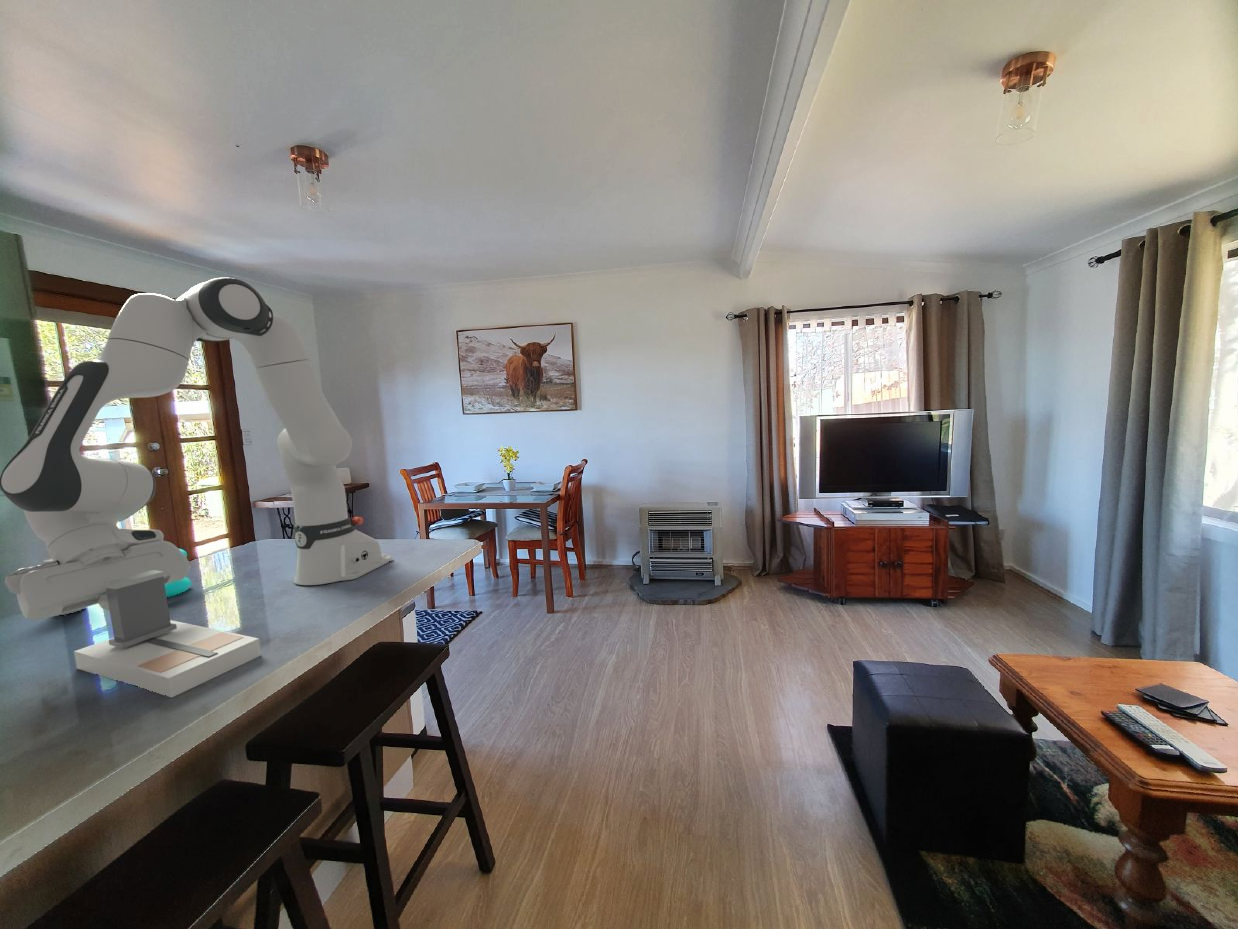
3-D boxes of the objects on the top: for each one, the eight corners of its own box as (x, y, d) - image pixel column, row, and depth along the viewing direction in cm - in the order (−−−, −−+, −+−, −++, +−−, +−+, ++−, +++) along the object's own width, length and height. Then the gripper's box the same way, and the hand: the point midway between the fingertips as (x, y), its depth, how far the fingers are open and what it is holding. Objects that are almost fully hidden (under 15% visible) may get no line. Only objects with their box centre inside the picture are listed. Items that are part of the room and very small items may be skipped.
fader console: (77, 668, 75) (73, 650, 75) (169, 634, 86) (166, 618, 86) (171, 697, 66) (168, 676, 66) (261, 655, 77) (258, 637, 77)
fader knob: (109, 644, 75) (98, 583, 74) (163, 625, 82) (154, 569, 81) (123, 648, 74) (112, 585, 73) (176, 628, 81) (168, 571, 79)
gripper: (2, 561, 70) (45, 630, 68) (171, 527, 89) (209, 581, 87) (-6, 586, 72) (36, 654, 70) (161, 548, 91) (198, 601, 89)
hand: (133, 613), depth 78 cm, fingers closed, pressing on fader knob
